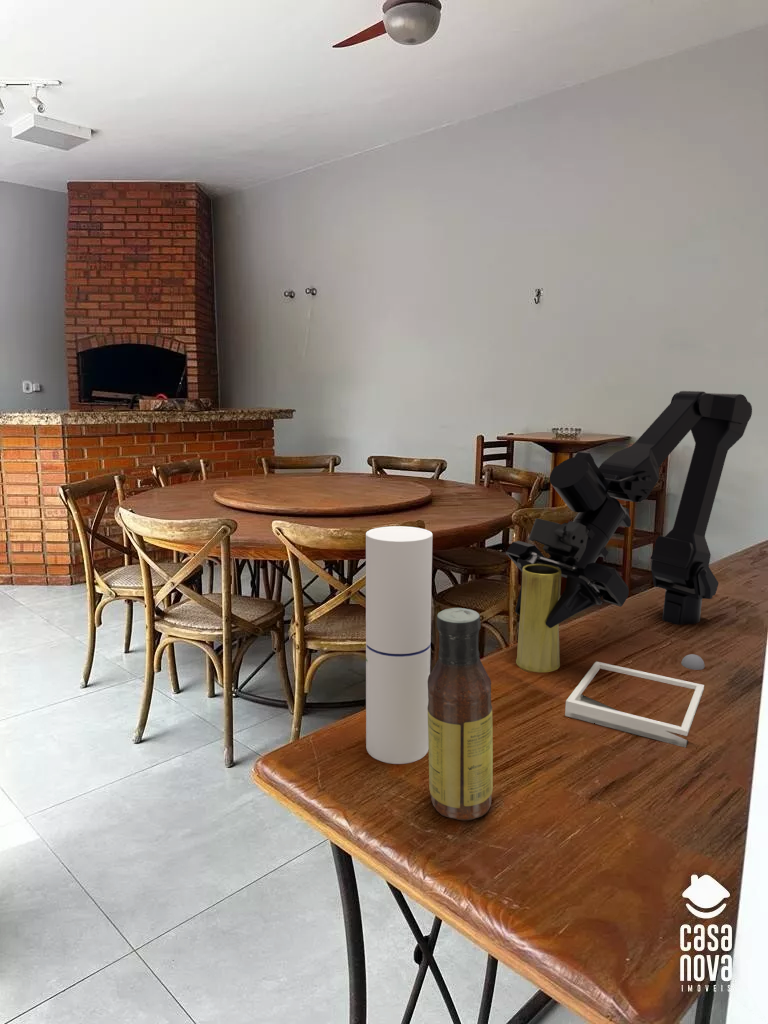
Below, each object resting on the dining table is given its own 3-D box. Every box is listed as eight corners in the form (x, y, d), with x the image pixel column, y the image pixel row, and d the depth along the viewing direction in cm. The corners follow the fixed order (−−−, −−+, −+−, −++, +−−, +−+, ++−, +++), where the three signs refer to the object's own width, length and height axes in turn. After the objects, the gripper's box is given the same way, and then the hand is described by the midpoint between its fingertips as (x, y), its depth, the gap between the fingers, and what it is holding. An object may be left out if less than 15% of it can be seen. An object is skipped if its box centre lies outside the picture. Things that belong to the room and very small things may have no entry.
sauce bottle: (490, 787, 71) (497, 603, 67) (493, 826, 65) (501, 627, 61) (426, 783, 71) (429, 601, 67) (424, 822, 65) (427, 624, 61)
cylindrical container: (384, 770, 74) (384, 544, 69) (355, 739, 80) (354, 530, 75) (440, 753, 77) (445, 537, 72) (409, 725, 83) (411, 523, 78)
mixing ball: (687, 668, 99) (689, 649, 99) (707, 675, 97) (709, 655, 96) (676, 674, 97) (678, 654, 97) (696, 681, 95) (698, 661, 95)
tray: (595, 674, 97) (596, 661, 97) (702, 699, 90) (704, 685, 90) (565, 715, 85) (565, 700, 85) (685, 747, 78) (687, 731, 78)
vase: (551, 678, 93) (556, 577, 90) (509, 668, 97) (512, 571, 94) (565, 662, 98) (570, 566, 95) (524, 653, 102) (528, 560, 99)
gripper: (516, 487, 102) (458, 571, 99) (620, 508, 87) (555, 608, 83) (551, 532, 108) (497, 612, 105) (654, 558, 93) (595, 653, 89)
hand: (532, 619), depth 95 cm, fingers closed on vase, 5 cm apart
